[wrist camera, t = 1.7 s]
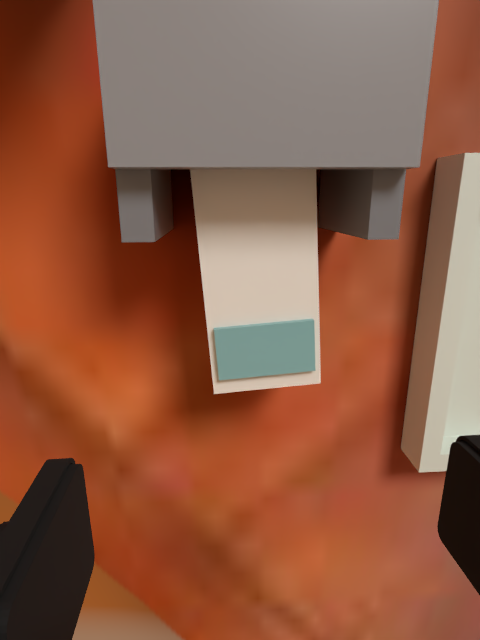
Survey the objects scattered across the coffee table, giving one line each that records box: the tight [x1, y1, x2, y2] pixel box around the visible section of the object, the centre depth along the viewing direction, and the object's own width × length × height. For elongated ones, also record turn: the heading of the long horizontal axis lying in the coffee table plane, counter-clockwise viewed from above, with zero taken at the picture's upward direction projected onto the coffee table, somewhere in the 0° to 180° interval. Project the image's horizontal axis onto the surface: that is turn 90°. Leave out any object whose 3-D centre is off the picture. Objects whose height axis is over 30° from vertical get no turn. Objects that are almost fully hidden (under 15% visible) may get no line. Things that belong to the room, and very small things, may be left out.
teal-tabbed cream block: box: [190, 169, 321, 394], centre depth 19 cm, size 5×13×6 cm, turn 4°
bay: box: [93, 0, 439, 242], centre depth 17 cm, size 10×9×8 cm
